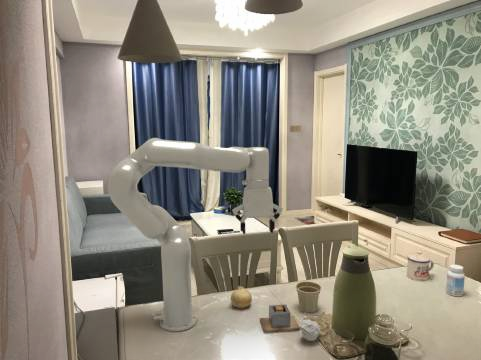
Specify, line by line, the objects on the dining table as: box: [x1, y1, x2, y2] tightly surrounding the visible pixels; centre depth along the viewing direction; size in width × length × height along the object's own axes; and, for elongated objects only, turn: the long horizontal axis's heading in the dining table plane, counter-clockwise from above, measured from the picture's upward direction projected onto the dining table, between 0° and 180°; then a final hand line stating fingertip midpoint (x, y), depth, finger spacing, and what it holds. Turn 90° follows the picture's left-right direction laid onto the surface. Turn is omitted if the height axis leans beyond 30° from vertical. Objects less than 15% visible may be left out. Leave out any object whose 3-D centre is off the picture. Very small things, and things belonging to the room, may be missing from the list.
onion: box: [230, 285, 253, 309], centre depth 147 cm, size 8×8×7 cm
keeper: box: [259, 306, 301, 334], centre depth 133 cm, size 12×8×6 cm, turn 97°
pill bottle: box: [445, 264, 466, 297], centre depth 155 cm, size 6×6×11 cm
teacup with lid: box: [406, 250, 435, 282], centre depth 171 cm, size 12×9×12 cm
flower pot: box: [295, 280, 322, 313], centre depth 144 cm, size 9×9×9 cm
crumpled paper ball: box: [299, 318, 321, 342], centre depth 124 cm, size 6×7×7 cm
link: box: [268, 303, 291, 328], centre depth 133 cm, size 6×6×5 cm
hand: (257, 232), depth 136 cm, fingers open, 9 cm apart
